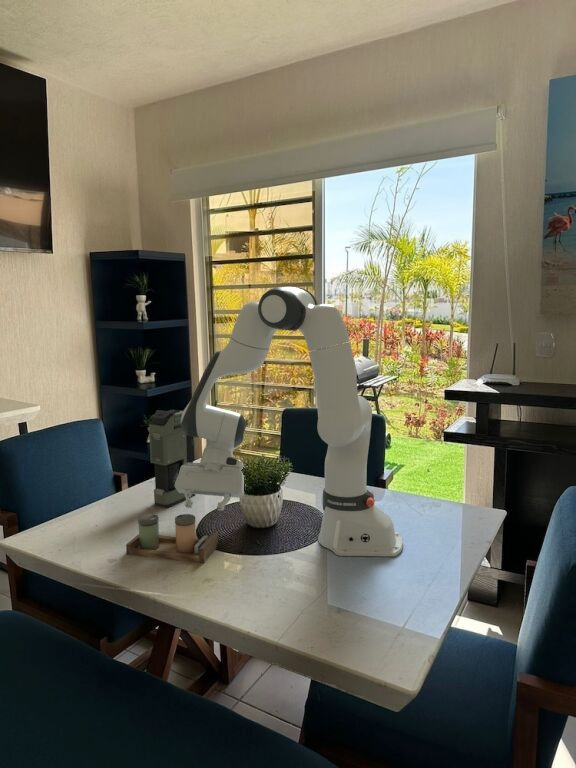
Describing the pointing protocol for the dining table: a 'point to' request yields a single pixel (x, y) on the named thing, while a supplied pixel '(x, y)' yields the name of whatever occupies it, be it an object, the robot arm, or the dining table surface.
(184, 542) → the terracotta jar
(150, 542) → the olive jar
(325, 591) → the dining table surface
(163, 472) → the device
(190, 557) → the wooden tray
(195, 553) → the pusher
